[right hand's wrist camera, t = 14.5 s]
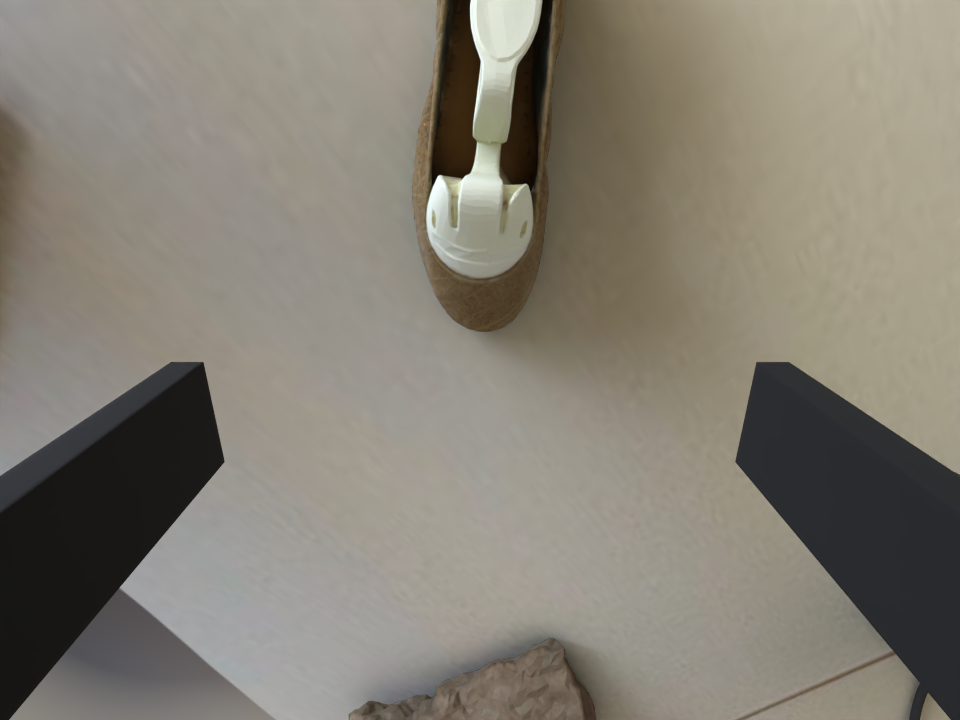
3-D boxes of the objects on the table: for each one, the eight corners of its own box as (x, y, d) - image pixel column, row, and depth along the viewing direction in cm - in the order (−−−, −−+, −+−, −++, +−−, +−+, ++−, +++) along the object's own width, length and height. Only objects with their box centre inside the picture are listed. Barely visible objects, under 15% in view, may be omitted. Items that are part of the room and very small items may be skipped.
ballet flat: (405, 315, 36) (382, 363, 27) (444, -136, 27) (428, -266, 18) (523, 330, 36) (536, 382, 28) (601, -108, 27) (654, -224, 19)
